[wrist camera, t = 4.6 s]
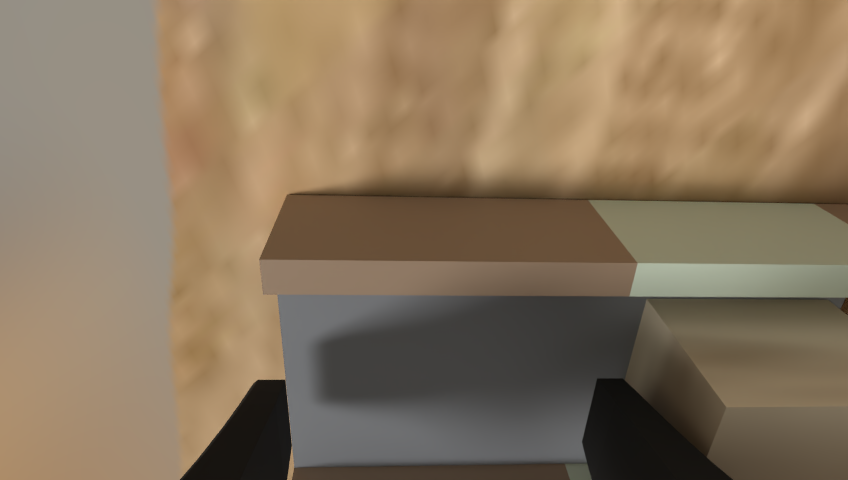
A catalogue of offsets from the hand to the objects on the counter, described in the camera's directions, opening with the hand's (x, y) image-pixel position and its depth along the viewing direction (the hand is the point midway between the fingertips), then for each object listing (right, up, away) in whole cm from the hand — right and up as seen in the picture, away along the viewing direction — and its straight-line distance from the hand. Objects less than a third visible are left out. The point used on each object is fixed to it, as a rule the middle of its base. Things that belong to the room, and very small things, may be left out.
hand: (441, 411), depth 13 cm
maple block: (+7, +1, +1) cm, 7 cm away
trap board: (+6, +1, +3) cm, 7 cm away
